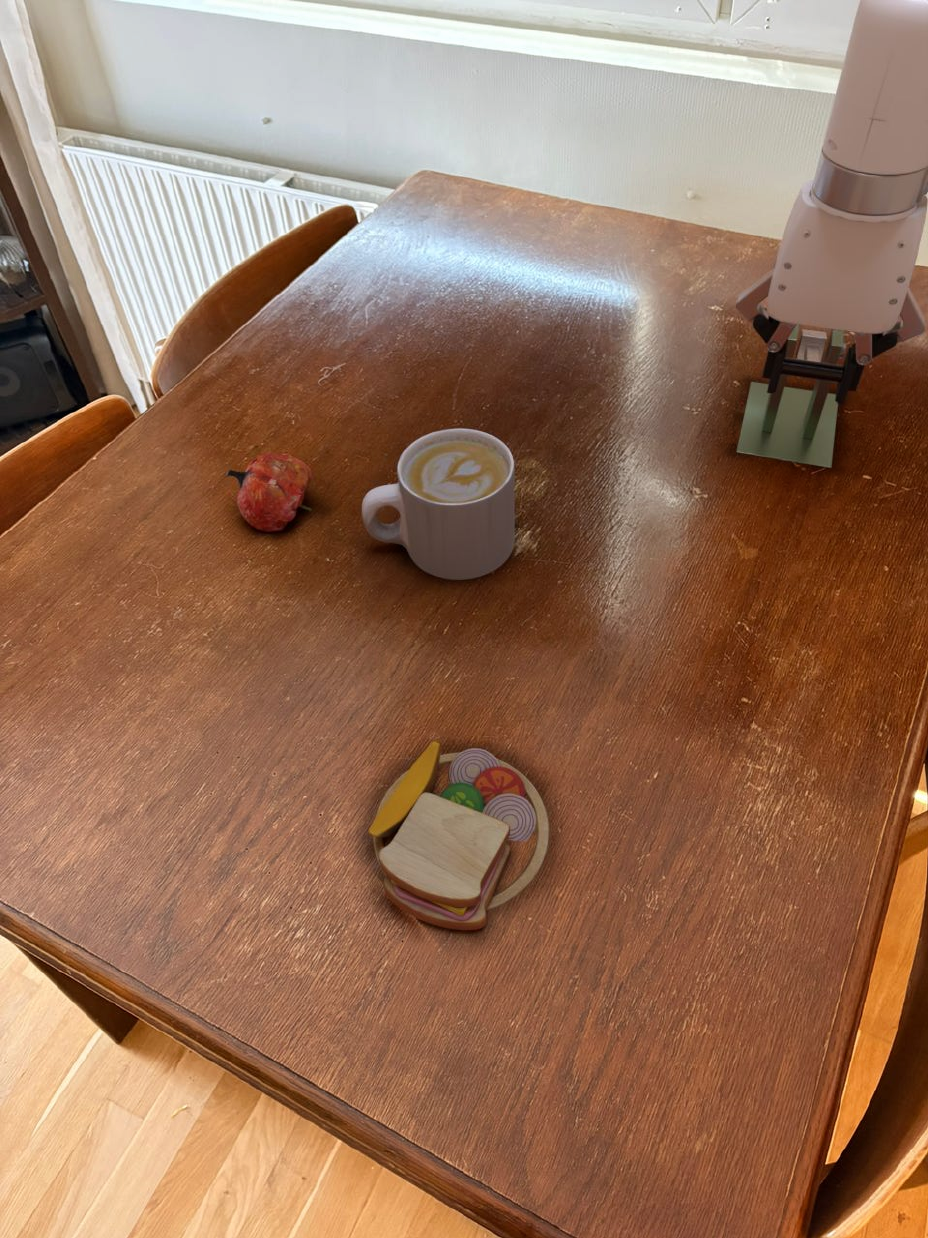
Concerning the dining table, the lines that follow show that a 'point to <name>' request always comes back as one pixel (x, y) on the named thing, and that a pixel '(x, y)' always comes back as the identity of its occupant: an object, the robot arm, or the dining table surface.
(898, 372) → the dining table surface
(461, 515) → the coffee mug
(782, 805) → the dining table surface
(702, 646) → the dining table surface
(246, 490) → the pomegranate
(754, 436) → the bracket
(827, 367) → the lever
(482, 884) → the toy sandwich meal
